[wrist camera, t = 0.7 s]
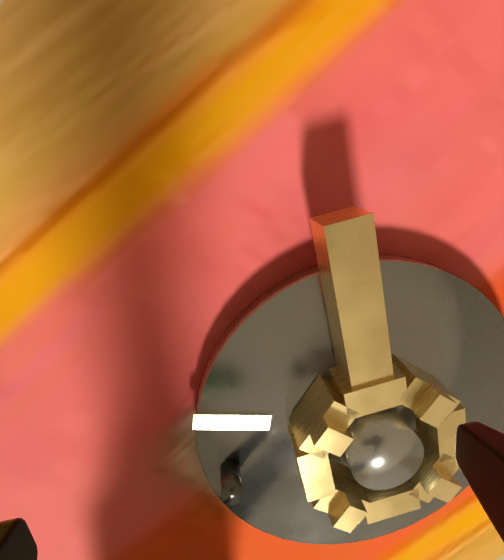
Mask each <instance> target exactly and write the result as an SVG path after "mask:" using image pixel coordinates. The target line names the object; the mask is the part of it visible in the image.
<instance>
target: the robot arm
mask: <svg viewBox="0 0 504 560" xmlns="http://www.w3.org/2000/svg"><path fill="white" fill-rule="evenodd" d="M455 458H456V462H457V464H458V466H459V468H460V470H461V471H462V473H463V475H464V476H465V478H466V480H467V482H468V483H469V485H470V487H471V488H472V490H473V492H474V493H475V495H476V497H477V498H478V500H479V502H480V504H481V505H482V507H483V509H484V510H485V512H486V514H487V515H488V517H489V519H490V520H491V522H492V524H493V525H494V527H495V529H496V530H497V532H498V534H499V535H500V537H501V538H502V540H503V542H504V433H502V432H499V431H497V430H495V429H493V428H491V427H489V426H487V425H485V424H482V423H480V422H469V423H464V424H460V425H458V427H457V429H456V442H455ZM0 560H37V546H36V543H35V541H34V539H33V537H32V535H31V532H30V530H29V528H28V526H27V524H26V522H25V520H23V519H22V518H16V519H11V520H6V521H2V522H0Z"/></svg>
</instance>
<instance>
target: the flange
mask: <svg viewBox="0 0 504 560" xmlns="http://www.w3.org/2000/svg"><path fill="white" fill-rule="evenodd" d="M379 262H380V270H381V278H382V286H383V294H384V302H385V310H386V317H387V325H388V333H389V341H390V349H391V355H392V353H393V354H395V355H397V356H399V357H400V358H402V359H404V360H406V361H408V362H410V363H411V364H413V365H415V366H417V367H419V368H421V369H422V370H424V371H426V372H428V373H430V374H432V375H433V376H435V377H436V378H437V379H438V380H439V381H440V382H441V383H442V384H443V385H444V386H445V387H446V388H447V389H448V390H449V391H450V392H451V393H453V394H454V395H455V396H456V397H457V398H458V399H459V400H460V401H461V402H460V404H461V405H462V406H463V407H464V408H465V416H466V423H469V422H480V423H482V424H485V425H487V426H489V427H491V428H493V429H495V430H497V431H499V432H502V433H504V318H503V317H502V315H501V314H500V312H499V311H498V310H497V308H496V307H495V305H494V304H493V303H492V302H491V301H490V300H489V299H488V298H487V297H486V296H485V295H484V294H483V293H482V292H480V291H479V290H477V289H476V288H475V287H473V286H472V285H470V284H469V283H468V282H466V281H464V280H462V279H460V278H458V277H456V276H454V275H452V274H450V273H448V272H446V271H444V270H442V269H440V268H437V267H435V266H433V265H431V264H428V263H425V262H422V261H419V260H415V259H412V258H407V257H400V256H394V255H379ZM334 366H337V364H336V359H335V354H334V348H333V343H332V338H331V332H330V327H329V322H328V316H327V311H326V305H325V300H324V295H323V289H322V284H321V279H320V273H319V268H318V265H315V266H313V267H310V268H307V269H305V270H302V271H300V272H298V273H296V274H294V275H292V276H290V277H288V278H286V279H285V280H283V281H281V282H279V283H277V284H276V285H275V286H273V287H272V288H270V289H269V290H267V291H266V292H265V293H263V294H262V295H260V296H259V297H258V298H257V299H256V300H254V301H253V302H252V303H251V304H250V305H249V306H248V307H247V308H246V309H244V310H243V311H242V312H241V313H240V314H239V316H238V317H237V318H236V319H235V320H234V321H233V323H232V324H231V325H230V326H229V327H228V328H227V330H226V331H225V333H224V334H223V336H222V337H221V339H220V340H219V342H218V343H217V345H216V346H215V348H214V350H213V352H212V354H211V356H210V359H209V361H208V363H207V365H206V367H205V370H204V374H203V377H202V380H201V383H200V387H199V394H198V400H197V413H194V414H193V427H192V430H197V446H198V452H199V458H200V461H201V464H202V467H203V470H204V473H205V475H206V477H207V479H208V481H209V483H210V485H211V486H212V488H213V490H214V491H215V493H216V494H217V495H218V497H219V498H220V499H221V500H222V502H223V503H224V504H225V505H226V506H227V507H228V508H229V509H230V510H231V511H232V512H233V513H234V514H236V515H237V516H238V517H240V518H241V519H242V520H244V521H245V522H247V523H248V524H250V525H251V526H253V527H255V528H257V529H259V530H261V531H263V532H265V533H268V534H271V535H274V536H277V537H279V538H282V539H287V540H291V541H296V542H302V543H311V544H342V543H352V542H358V541H363V540H368V539H373V538H376V537H379V536H383V535H386V534H390V533H392V532H395V531H397V530H400V529H402V528H405V527H407V526H409V525H411V524H413V523H415V522H417V521H419V520H421V519H423V518H425V517H427V516H428V515H430V514H432V513H433V512H435V511H437V510H438V509H440V508H441V507H443V506H444V505H445V504H447V502H445V501H442V500H440V499H438V498H435V497H434V498H433V499H432V500H431V501H430V502H429V503H427V502H425V501H422V500H420V509H417V510H414V511H411V512H407V513H404V514H401V515H397V516H394V517H391V518H388V519H384V520H381V521H378V522H375V523H371V524H367V522H366V519H365V518H364V519H363V520H362V521H361V522H360V524H359V525H358V524H357V526H356V527H355V528H354V529H353V530H352V532H351V533H348V532H346V531H343V530H340V529H337V528H334V527H333V526H332V523H331V520H330V517H329V515H328V513H326V512H323V511H320V510H317V509H315V508H313V505H312V502H308V500H307V497H306V494H305V491H304V487H303V484H302V481H301V478H300V474H299V471H298V468H297V464H296V460H295V456H294V453H293V449H292V445H291V441H290V437H289V433H288V429H287V426H289V425H291V424H290V421H289V416H290V415H291V414H292V412H293V411H294V409H295V408H296V407H297V405H298V404H299V402H300V401H301V400H302V398H303V397H304V395H305V394H306V393H307V391H308V390H309V388H310V387H311V386H312V384H313V383H314V381H315V380H316V378H317V377H318V376H319V374H320V375H323V376H325V377H327V378H329V379H330V375H329V370H328V368H331V367H334ZM415 428H416V423H415V413H414V412H413V411H412V410H411V409H410V408H408V407H406V406H404V405H399V406H396V407H392V408H389V409H385V410H382V411H379V412H375V413H372V414H368V415H365V416H361V417H358V418H355V419H354V421H353V422H352V423H351V424H350V426H349V427H348V429H349V431H350V433H351V434H352V436H353V438H354V440H353V441H352V442H351V444H350V445H349V446H348V448H347V449H346V450H345V451H344V453H343V454H342V455H341V457H339V456H336V455H334V454H332V453H328V458H329V459H331V460H333V461H336V462H338V463H341V464H343V465H345V466H348V467H349V468H350V470H351V472H352V475H353V477H354V478H355V480H356V481H357V482H358V483H359V484H360V485H362V486H363V487H366V488H368V489H372V490H386V489H390V488H394V487H396V486H399V485H401V484H403V483H404V482H406V481H407V480H408V479H410V478H411V477H412V476H413V475H414V474H415V473H416V472H417V470H418V469H419V467H420V465H421V463H422V461H423V457H424V448H423V444H422V442H421V440H420V439H419V437H418V436H417V435H416V434H415V432H414V430H415ZM453 476H454V478H455V479H456V480H457V481H458V483H459V484H460V485H461V486H462V488H461V489H460V491H459V492H458V493H457V494H456V495H455V496H454V497H453V498H455V497H456V496H457V495H458V494H459V493H460V492H461V491H463V490H464V489H465V488H466V487H467V486H468V485H469V483H468V482H467V480H466V478H465V476H464V475H463V473H462V471H461V470H460V468H459V469H458V470H457V471H456V473H455V474H454V475H453Z"/></svg>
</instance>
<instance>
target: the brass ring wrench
mask: <svg viewBox="0 0 504 560" xmlns="http://www.w3.org/2000/svg"><path fill="white" fill-rule="evenodd" d="M309 220H310V225H311V230H312V236H313V241H314V247H315V252H316V257H317V263H318V268H319V273H320V279H321V284H322V289H323V295H324V300H325V305H326V311H327V316H328V322H329V327H330V332H331V338H332V343H333V348H334V354H335V359H336V364H337V366H334V367H331V368H328V370H329V375H330V379H329V378H327V377H325V376H323V375H320V374H319V376H318V377H317V378H316V380H315V381H314V383H313V384H312V386H311V387H310V388H309V390H308V391H307V393H306V394H305V395H304V397H303V398H302V400H301V401H300V402H299V404H298V405H297V407H296V408H295V409H294V411H293V412H292V414H291V415H290V416H289V421H290V424H291V425H289V426H287V429H288V433H289V437H290V441H291V445H292V449H293V453H294V456H295V460H296V464H297V468H298V471H299V474H300V478H301V481H302V484H303V487H304V491H305V494H306V497H307V500H308V502H312V505H313V508H315V509H317V510H320V511H323V512H326V513H328V515H329V517H330V520H331V523H332V526H333V527H334V528H337V529H340V530H343V531H346V532H348V533H351V532H352V530H353V529H354V528H355V527H356V526H357V524H358V525H359V524H360V522H361V521H362V520H363V519H364V518H365V519H366V522H367V524H371V523H375V522H378V521H381V520H384V519H388V518H391V517H394V516H397V515H401V514H404V513H407V512H411V511H414V510H417V509H420V500H422V501H425V502H427V503H429V502H430V501H431V500H432V499H433V498H434V497H435V498H438V499H440V500H442V501H445V502H447V503H449V502H450V501H451V500H452V499H453V497H454V496H455V495H456V494H457V493H458V492H459V491H460V489H461V488H462V486H461V485H460V484H459V483H458V481H457V480H456V479H455V478H454V476H453V475H454V474H455V473H456V471H457V470H458V469H459V466H458V464H457V462H456V458H455V442H456V429H457V427H458V425H460V424H464V423H466V416H465V408H464V407H463V406H462V405H461V404H460V402H461V401H460V400H459V399H458V398H457V397H456V396H455V395H454V394H453V393H451V392H450V391H449V390H448V389H447V388H446V387H445V386H444V385H443V384H442V383H441V382H440V381H439V380H438V379H437V378H436V377H435V376H433V375H432V374H430V373H428V372H426V371H424V370H422V369H421V368H419V367H417V366H415V365H413V364H411V363H410V362H408V361H406V360H404V359H402V358H400V357H399V356H397V355H395V354H393V353H392V355H391V349H390V341H389V333H388V325H387V317H386V310H385V302H384V294H383V286H382V278H381V270H380V262H379V254H378V246H377V238H376V230H375V222H374V215H373V213H372V212H369V211H366V210H363V209H360V208H357V207H354V206H353V207H349V208H345V209H342V210H338V211H334V212H330V213H326V214H323V215H319V216H315V217H311V218H309ZM399 405H404V406H406V407H408V408H410V409H411V410H412V411H413V412H414V413H415V423H416V428H415V430H414V432H415V434H416V435H417V436H418V437H419V439H420V440H421V442H422V444H423V448H424V457H423V461H422V463H421V465H420V467H419V469H418V470H417V472H416V473H415V474H414V475H413V476H412V477H411V478H410V479H408V480H407V481H406V482H404V483H403V484H401V485H399V486H396V487H394V488H390V489H386V490H372V489H368V488H366V487H363V486H362V485H360V484H359V483H358V482H357V481H356V480H355V478H354V477H353V475H352V472H351V470H350V468H349V467H348V466H345V465H343V464H341V463H338V462H336V461H333V460H331V459H329V458H328V453H332V454H334V455H336V456H339V457H341V455H342V454H343V453H344V451H345V450H346V449H347V448H348V446H349V445H350V444H351V442H352V441H353V440H354V438H353V436H352V434H351V433H350V431H349V429H348V427H349V426H350V424H351V423H352V422H353V421H354V419H355V418H358V417H361V416H365V415H368V414H372V413H375V412H379V411H382V410H385V409H389V408H392V407H396V406H399Z"/></svg>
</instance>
